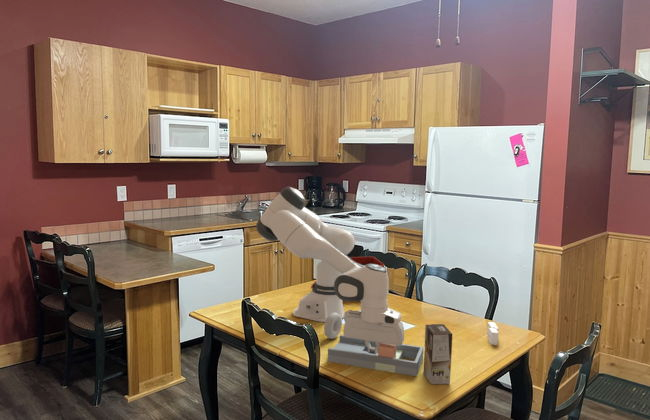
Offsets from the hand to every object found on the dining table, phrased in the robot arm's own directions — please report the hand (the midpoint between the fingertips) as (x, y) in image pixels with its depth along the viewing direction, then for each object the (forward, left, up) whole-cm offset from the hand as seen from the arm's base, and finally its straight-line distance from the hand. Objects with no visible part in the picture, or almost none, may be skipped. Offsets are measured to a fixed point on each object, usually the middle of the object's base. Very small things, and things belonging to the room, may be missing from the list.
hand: (372, 353), depth 166 cm
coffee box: (+21, -2, -4) cm, 22 cm away
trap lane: (0, +3, -4) cm, 5 cm away
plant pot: (-26, +77, -4) cm, 81 cm away
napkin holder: (+37, +38, -5) cm, 54 cm away
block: (+5, 0, -1) cm, 5 cm away
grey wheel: (-20, +17, -4) cm, 26 cm away
